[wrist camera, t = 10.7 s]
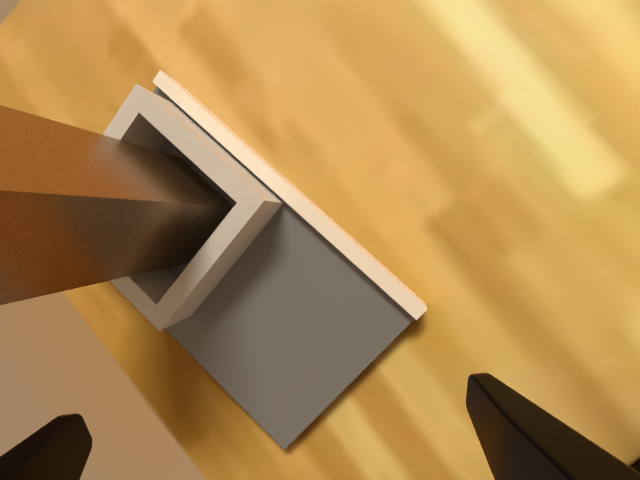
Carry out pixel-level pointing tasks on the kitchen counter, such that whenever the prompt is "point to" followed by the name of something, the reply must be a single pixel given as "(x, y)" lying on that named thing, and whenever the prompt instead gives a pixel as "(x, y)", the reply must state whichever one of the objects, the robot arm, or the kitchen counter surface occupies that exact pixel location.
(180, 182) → the bar
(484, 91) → the kitchen counter surface
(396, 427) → the kitchen counter surface
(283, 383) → the grey socket base
